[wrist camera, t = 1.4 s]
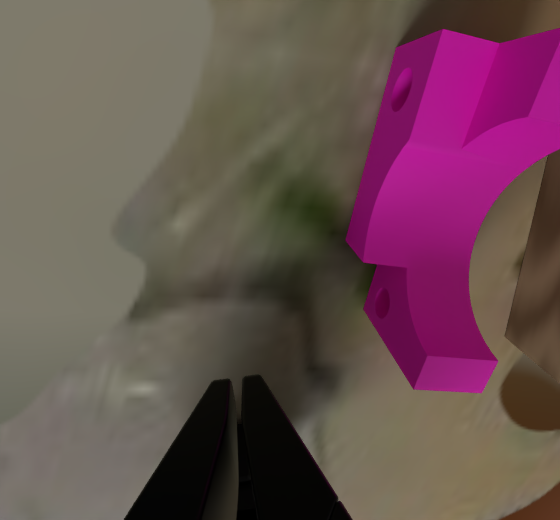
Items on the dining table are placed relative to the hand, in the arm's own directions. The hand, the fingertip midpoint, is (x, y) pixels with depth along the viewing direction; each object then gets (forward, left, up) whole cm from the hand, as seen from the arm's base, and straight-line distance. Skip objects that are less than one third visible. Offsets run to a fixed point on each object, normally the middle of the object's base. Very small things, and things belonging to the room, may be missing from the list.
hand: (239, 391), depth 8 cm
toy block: (0, -10, -14) cm, 17 cm away
